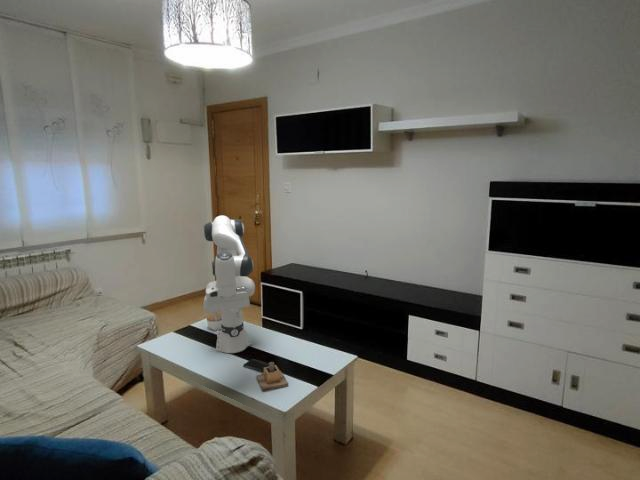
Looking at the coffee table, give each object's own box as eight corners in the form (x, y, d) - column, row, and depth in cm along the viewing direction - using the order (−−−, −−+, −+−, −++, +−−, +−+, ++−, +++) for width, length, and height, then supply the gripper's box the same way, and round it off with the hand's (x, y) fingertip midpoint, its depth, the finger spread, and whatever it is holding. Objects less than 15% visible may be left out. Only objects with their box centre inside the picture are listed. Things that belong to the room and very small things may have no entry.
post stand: (256, 378, 185) (255, 359, 183) (280, 373, 190) (280, 355, 188) (262, 391, 174) (262, 372, 172) (288, 386, 179) (288, 366, 177)
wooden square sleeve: (263, 377, 183) (263, 367, 182) (276, 374, 186) (276, 365, 185) (267, 384, 178) (267, 373, 177) (280, 381, 180) (279, 371, 179)
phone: (266, 372, 189) (242, 365, 196) (266, 375, 189) (242, 367, 196) (276, 365, 195) (252, 358, 202) (276, 367, 196) (252, 360, 203)
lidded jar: (210, 333, 234) (209, 318, 232) (204, 327, 243) (204, 312, 241) (227, 329, 240) (227, 314, 238) (221, 323, 249) (220, 309, 247)
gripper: (247, 284, 182) (248, 312, 185) (202, 290, 174) (203, 319, 177) (250, 288, 177) (251, 317, 180) (203, 294, 169) (205, 324, 172)
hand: (227, 318), depth 178 cm, fingers open, 8 cm apart
